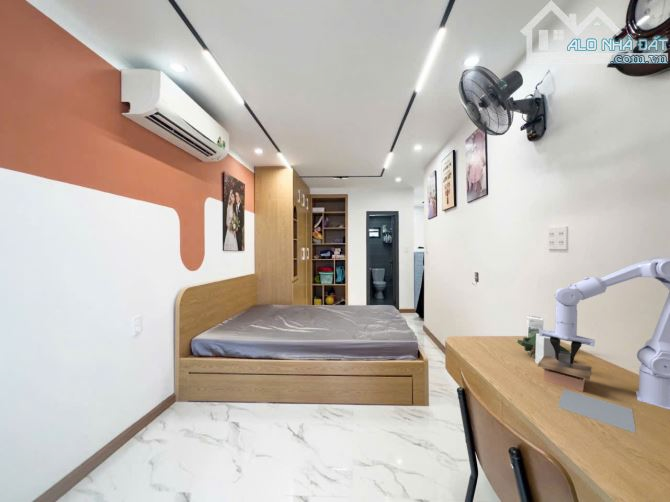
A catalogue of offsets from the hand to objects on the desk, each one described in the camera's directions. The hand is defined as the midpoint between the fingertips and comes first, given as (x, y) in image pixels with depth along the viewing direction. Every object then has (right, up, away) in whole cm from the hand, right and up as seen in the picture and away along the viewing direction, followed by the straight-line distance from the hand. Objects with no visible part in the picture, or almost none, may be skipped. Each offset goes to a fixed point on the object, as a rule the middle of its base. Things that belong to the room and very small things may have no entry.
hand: (564, 361), depth 93 cm
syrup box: (+15, -8, +34) cm, 38 cm away
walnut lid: (0, -2, 0) cm, 2 cm away
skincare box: (+3, -8, +13) cm, 16 cm away
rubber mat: (-5, -7, -16) cm, 19 cm away
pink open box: (0, -7, 0) cm, 7 cm away
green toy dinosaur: (+10, -8, +21) cm, 25 cm away
